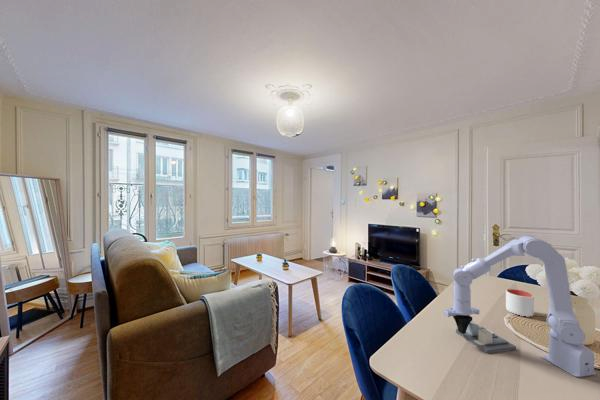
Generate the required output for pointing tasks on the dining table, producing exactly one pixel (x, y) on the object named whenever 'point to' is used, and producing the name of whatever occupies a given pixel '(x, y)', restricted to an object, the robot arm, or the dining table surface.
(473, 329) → the grey switch
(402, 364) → the dining table surface
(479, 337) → the cream switch
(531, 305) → the cup
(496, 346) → the switch panel
